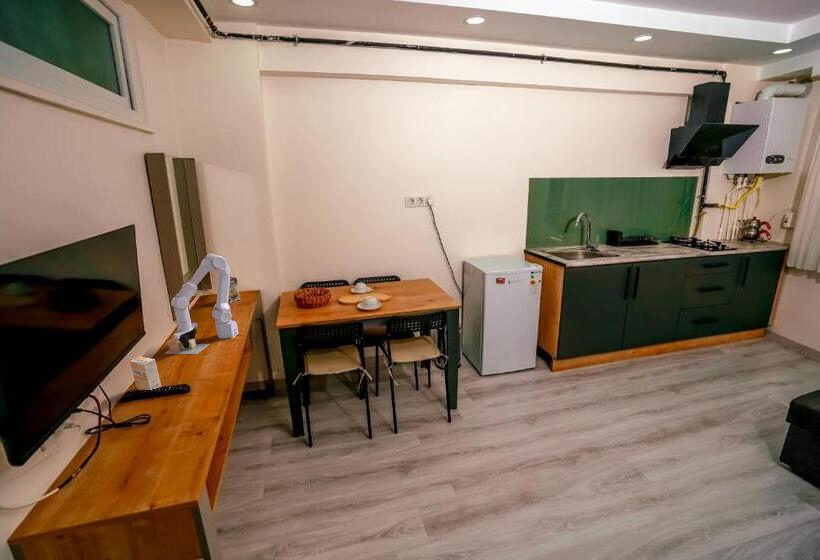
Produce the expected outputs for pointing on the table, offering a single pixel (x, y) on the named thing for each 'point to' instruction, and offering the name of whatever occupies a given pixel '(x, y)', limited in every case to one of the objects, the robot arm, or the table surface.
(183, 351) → the board
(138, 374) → the supplement box
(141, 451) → the table surface
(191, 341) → the beige rectangular block
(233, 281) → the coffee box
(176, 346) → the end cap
